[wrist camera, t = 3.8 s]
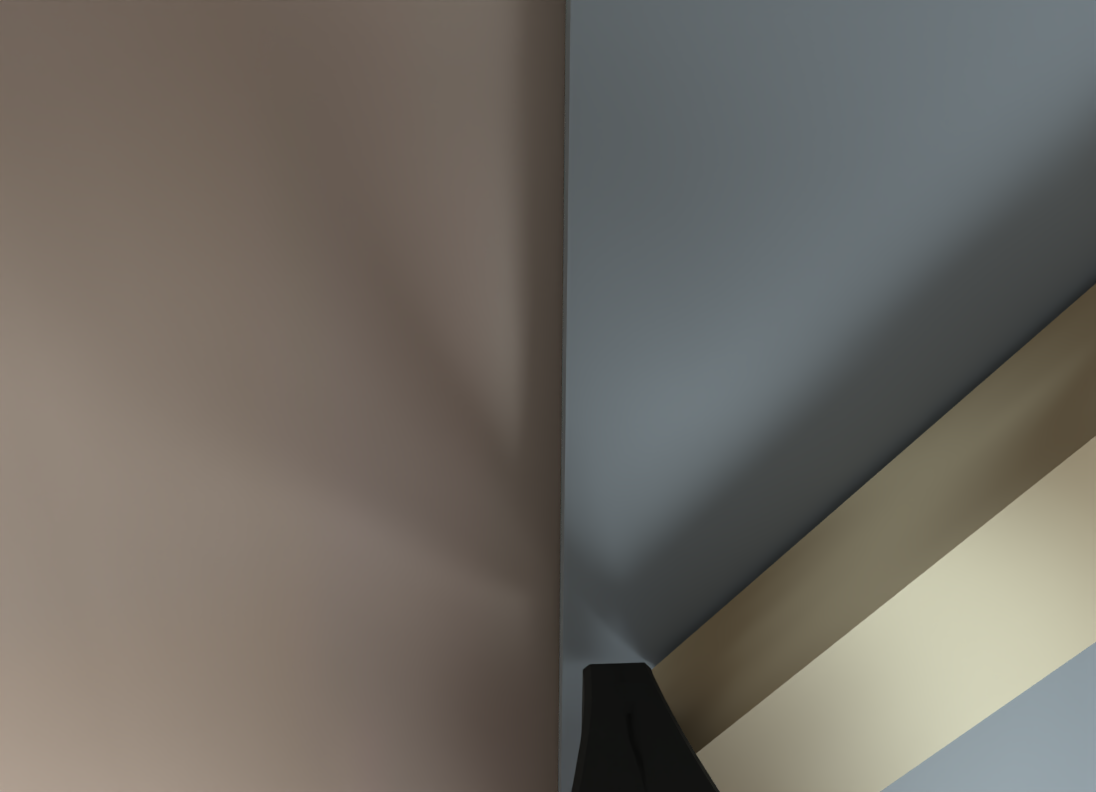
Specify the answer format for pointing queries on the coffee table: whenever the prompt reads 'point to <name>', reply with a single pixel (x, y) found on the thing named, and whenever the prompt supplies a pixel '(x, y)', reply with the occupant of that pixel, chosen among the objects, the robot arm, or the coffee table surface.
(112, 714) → the coffee table surface
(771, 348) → the board
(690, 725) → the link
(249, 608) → the coffee table surface
